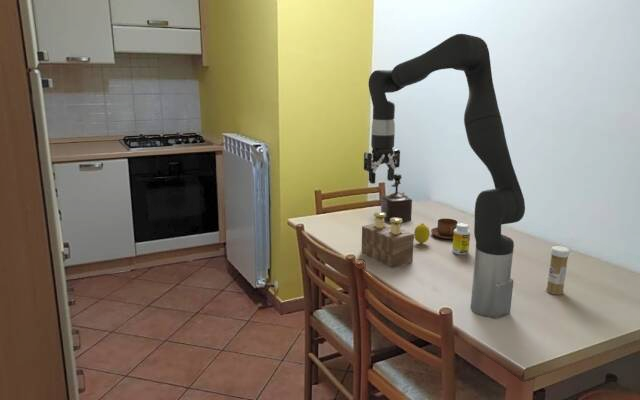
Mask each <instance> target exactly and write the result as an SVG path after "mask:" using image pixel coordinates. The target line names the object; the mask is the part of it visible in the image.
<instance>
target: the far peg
mask: <svg viewBox="0 0 640 400" xmlns="http://www.w3.org/2000/svg"><path fill="white" fill-rule="evenodd" d="M373 216H374V217H375V223H374V224H375V228H377V229H382V228H384V223H385V219H384V217H386V213H384V212H381V211H376V212H374V213H373Z"/></svg>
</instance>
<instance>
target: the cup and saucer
mask: <svg viewBox="0 0 640 400" xmlns="http://www.w3.org/2000/svg"><path fill="white" fill-rule="evenodd" d="M457 224H458V221H457V220H456V219H452V218H440V219H438V220H437V227H434V228H431V230H430V232H431V234H432V235H433V236H435V237H437V238H440V239H444V240H445V239H446V240H453V236H454V230H455V229H456V227H457Z"/></svg>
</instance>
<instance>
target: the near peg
mask: <svg viewBox="0 0 640 400" xmlns="http://www.w3.org/2000/svg"><path fill="white" fill-rule="evenodd" d="M389 223H391V224H390V225H391V234H393V235H399V234H400V229H401V223H403V222H402V219H401V218H390V222H389Z"/></svg>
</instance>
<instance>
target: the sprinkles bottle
mask: <svg viewBox="0 0 640 400" xmlns="http://www.w3.org/2000/svg"><path fill="white" fill-rule="evenodd" d="M550 254H551V255H550V256H551V257H550V264H549V269H548V274H547V275H548V277H547V283H546V284H547V285H546V292H548V293H549V294H552V295H563V294H564V288H565V280H566V275H567V268H568V266H567V265H568V258H569V256H570V249H569V248H568V247H564V246H561V245H560V246H557V245H555V246H552V247H551V251H550Z"/></svg>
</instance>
